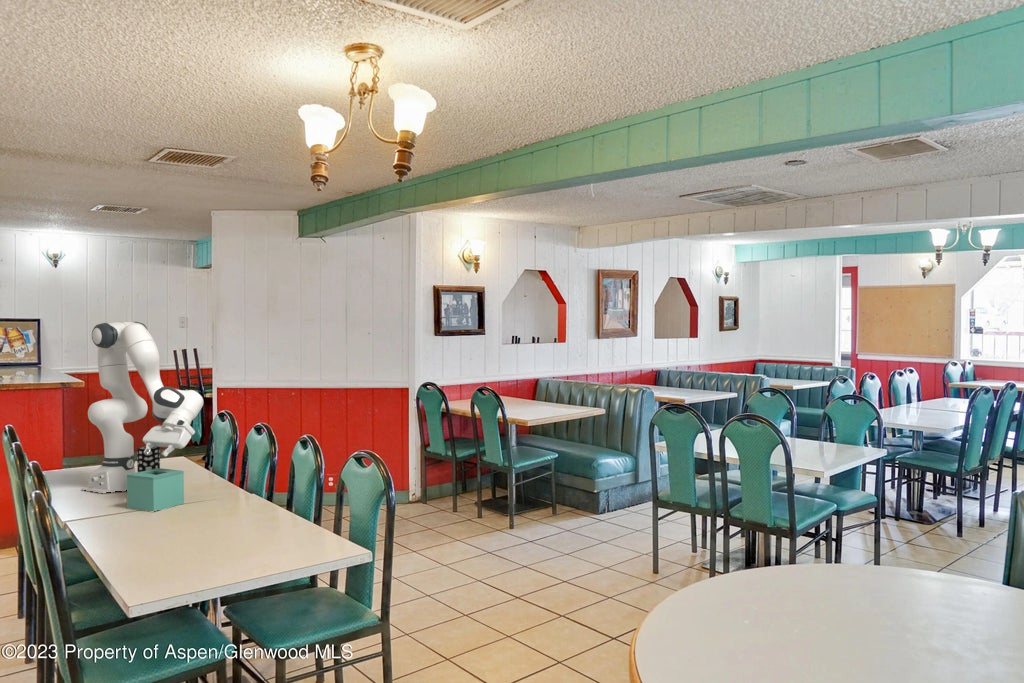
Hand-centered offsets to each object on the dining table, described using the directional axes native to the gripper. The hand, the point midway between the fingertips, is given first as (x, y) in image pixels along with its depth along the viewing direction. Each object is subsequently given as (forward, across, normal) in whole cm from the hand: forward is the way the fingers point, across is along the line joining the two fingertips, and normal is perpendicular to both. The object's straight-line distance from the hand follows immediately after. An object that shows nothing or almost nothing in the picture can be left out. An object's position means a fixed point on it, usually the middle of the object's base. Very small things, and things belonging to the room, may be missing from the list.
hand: (154, 454), depth 283 cm
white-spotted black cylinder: (+7, -16, +22) cm, 28 cm away
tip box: (+14, 0, +14) cm, 20 cm away
